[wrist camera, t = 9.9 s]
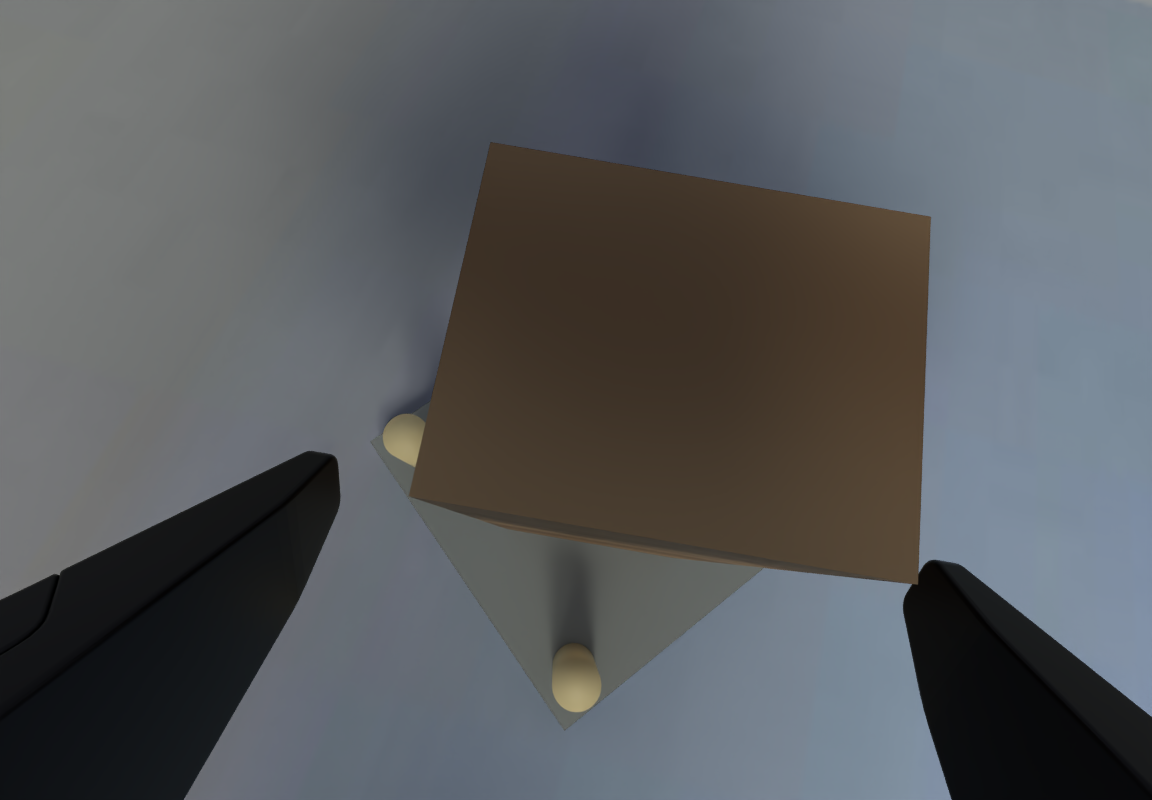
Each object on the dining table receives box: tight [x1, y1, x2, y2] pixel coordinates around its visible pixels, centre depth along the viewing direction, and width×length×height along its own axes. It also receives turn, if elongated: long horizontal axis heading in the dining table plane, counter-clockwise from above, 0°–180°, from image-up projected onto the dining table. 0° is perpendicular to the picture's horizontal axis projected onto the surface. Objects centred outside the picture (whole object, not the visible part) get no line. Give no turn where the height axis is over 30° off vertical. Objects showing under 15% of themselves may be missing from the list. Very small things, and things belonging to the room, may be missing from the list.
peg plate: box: [370, 401, 763, 731], centre depth 18 cm, size 10×10×4 cm
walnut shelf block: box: [409, 142, 931, 585], centre depth 12 cm, size 4×5×12 cm
